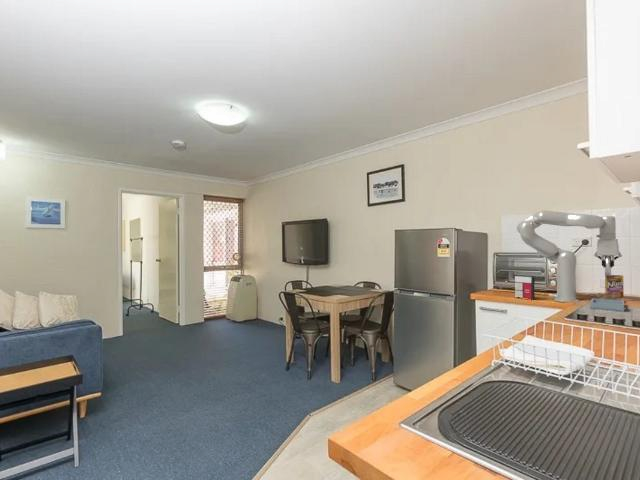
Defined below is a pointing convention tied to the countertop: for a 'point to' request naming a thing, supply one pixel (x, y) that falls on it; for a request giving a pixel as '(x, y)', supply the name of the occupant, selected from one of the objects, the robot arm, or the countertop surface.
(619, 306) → the tray
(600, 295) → the socket block
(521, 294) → the grey and crimson box
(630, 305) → the countertop surface
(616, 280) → the candy box
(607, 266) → the steel pin
